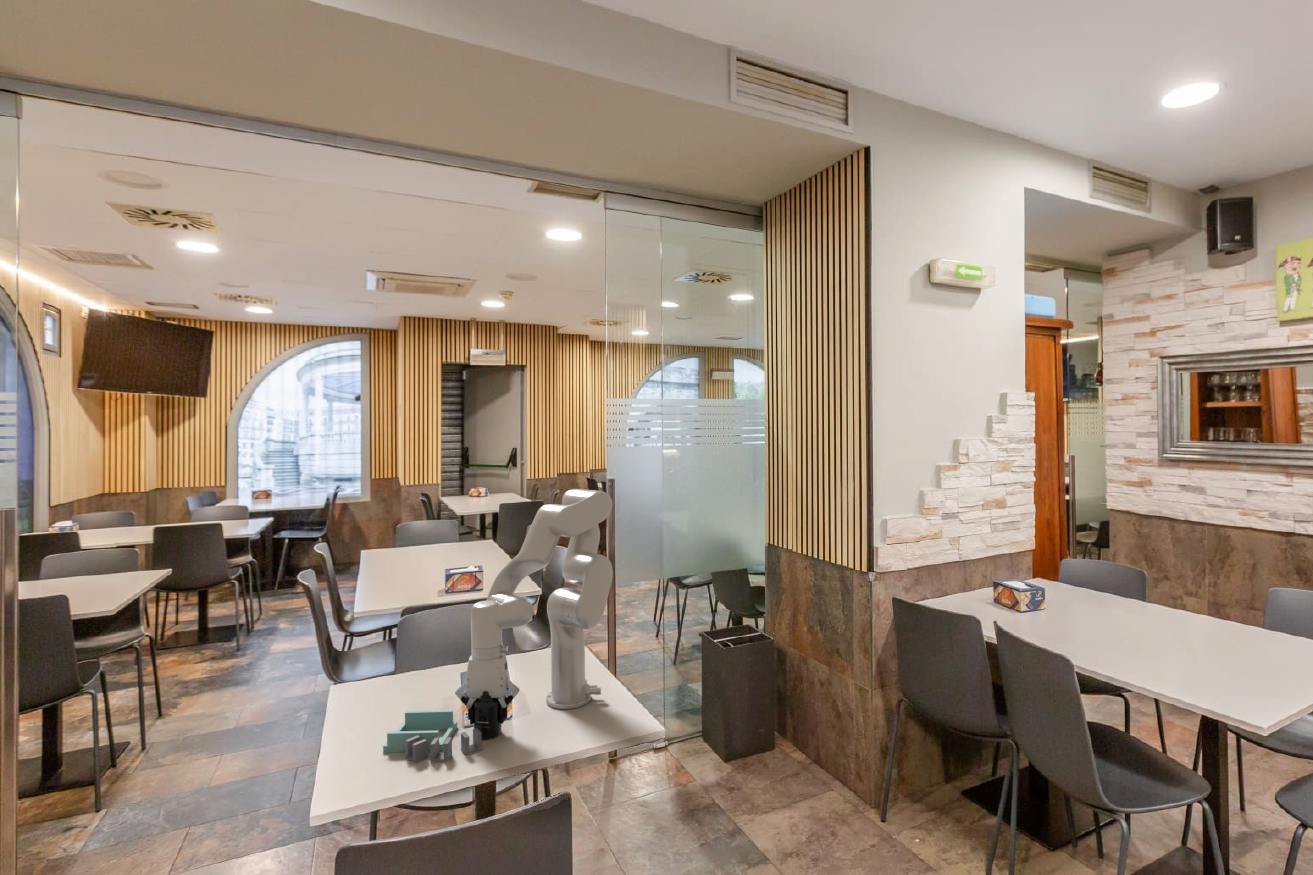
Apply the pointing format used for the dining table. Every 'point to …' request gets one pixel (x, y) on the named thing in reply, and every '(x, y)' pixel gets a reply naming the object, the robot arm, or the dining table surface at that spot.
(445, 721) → the end holder
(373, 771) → the dining table surface
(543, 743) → the dining table surface
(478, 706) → the supplement bottle
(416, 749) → the clip
